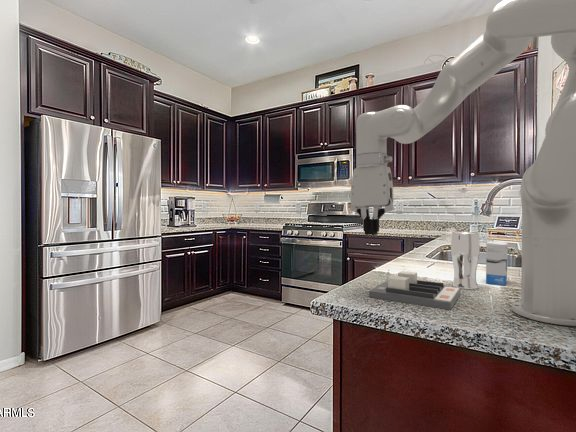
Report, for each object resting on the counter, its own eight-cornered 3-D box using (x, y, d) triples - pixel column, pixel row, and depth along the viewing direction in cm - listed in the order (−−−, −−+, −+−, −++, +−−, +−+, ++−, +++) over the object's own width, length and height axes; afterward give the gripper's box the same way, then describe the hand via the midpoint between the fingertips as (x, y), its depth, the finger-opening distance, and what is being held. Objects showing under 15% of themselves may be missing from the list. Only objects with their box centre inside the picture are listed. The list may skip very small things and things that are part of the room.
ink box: (506, 286, 89) (506, 244, 89) (485, 283, 92) (485, 242, 92) (507, 280, 96) (508, 241, 96) (488, 278, 99) (488, 240, 99)
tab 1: (409, 289, 78) (409, 277, 78) (405, 292, 76) (405, 280, 75) (392, 287, 81) (392, 275, 81) (388, 290, 78) (388, 278, 78)
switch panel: (460, 293, 81) (460, 283, 81) (450, 309, 68) (450, 298, 68) (389, 284, 91) (389, 275, 91) (369, 297, 78) (369, 286, 78)
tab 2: (417, 283, 85) (417, 272, 85) (413, 286, 82) (413, 274, 82) (401, 281, 87) (401, 270, 87) (397, 284, 84) (397, 272, 84)
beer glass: (472, 284, 92) (472, 232, 91) (484, 290, 85) (484, 233, 84) (446, 283, 92) (446, 231, 92) (457, 289, 85) (457, 233, 85)
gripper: (406, 161, 80) (405, 235, 81) (349, 166, 89) (349, 232, 89) (397, 157, 74) (397, 237, 74) (337, 163, 83) (337, 234, 83)
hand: (371, 234), depth 82 cm, fingers closed
